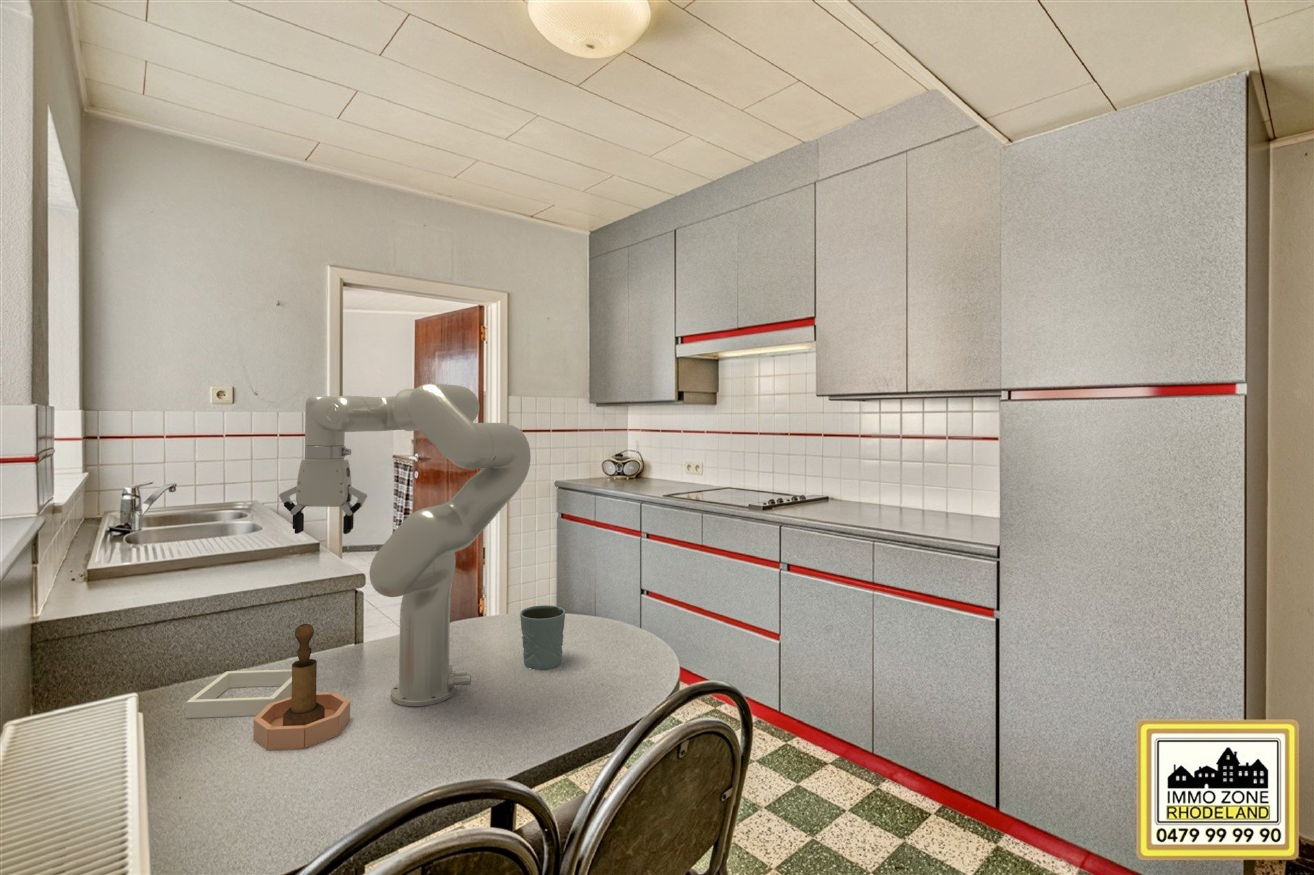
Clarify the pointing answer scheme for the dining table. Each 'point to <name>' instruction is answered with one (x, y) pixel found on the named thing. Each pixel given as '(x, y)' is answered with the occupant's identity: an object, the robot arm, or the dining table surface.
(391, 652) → the dining table surface
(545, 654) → the drinking glass
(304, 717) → the dark brown knobbed post
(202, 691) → the open rectangular frame
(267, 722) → the terracotta bowl
